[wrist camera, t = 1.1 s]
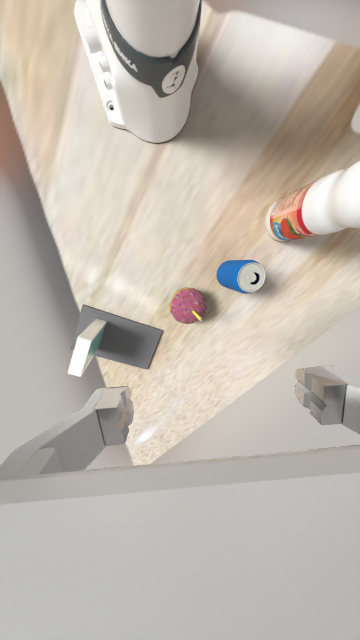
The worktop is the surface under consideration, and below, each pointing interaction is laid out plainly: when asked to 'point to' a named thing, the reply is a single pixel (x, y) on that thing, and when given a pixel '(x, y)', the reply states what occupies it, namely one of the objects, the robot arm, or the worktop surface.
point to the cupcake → (187, 305)
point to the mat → (121, 338)
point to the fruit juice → (318, 207)
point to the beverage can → (241, 275)
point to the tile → (86, 347)
